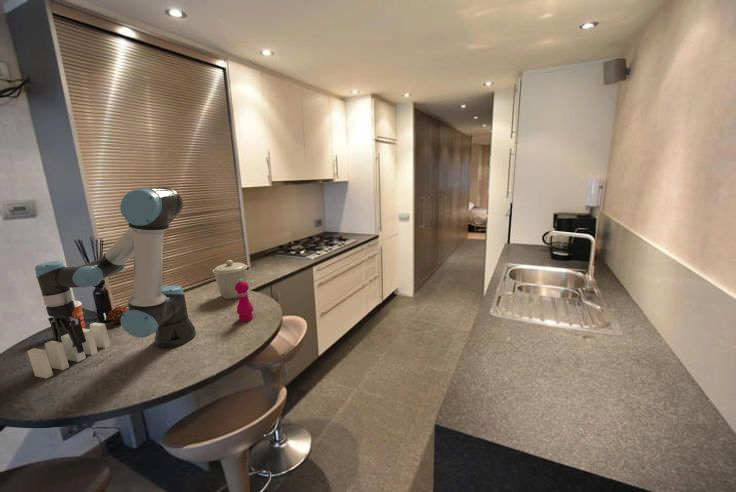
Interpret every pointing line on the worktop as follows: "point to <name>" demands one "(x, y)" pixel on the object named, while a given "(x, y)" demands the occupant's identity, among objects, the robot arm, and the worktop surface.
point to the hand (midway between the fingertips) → (75, 358)
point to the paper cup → (78, 313)
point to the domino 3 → (68, 347)
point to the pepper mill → (243, 301)
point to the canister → (229, 278)
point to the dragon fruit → (116, 314)
